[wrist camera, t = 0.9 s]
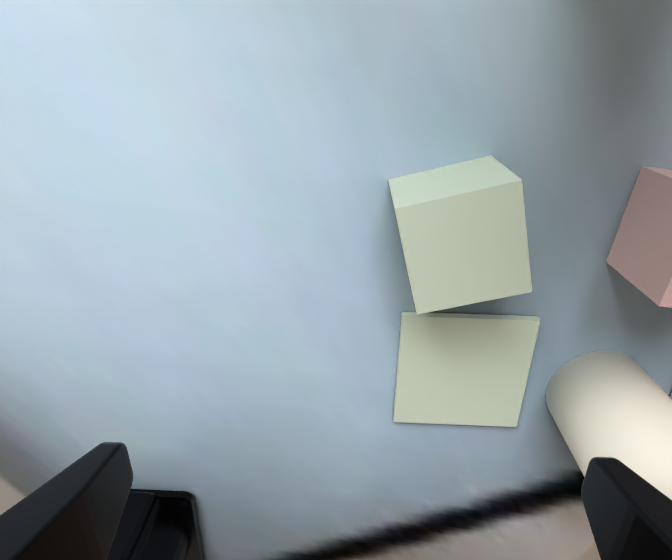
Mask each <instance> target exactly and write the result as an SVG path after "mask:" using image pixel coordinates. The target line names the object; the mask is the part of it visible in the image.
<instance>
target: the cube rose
mask: <svg viewBox="0 0 672 560" xmlns="http://www.w3.org/2000/svg"><path fill="white" fill-rule="evenodd" d="M606 262H607V263H608V264H609V265H610V266H612V267H613V268H614V269H615V270H616V271H618V272H619V273H620V274H621V275H622V276H623V277H625V278H626V279H627V280H628V281H629V282H631V283H632V284H633V285H634V286H635V287H636V288H638V289H639V290H640V291H641V292H642V293H644V294H645V295H646V296H647V297H648V298H649V299H651V300H652V301H653V302H654V303H655V304H657V305H658V306H660V307H669V308H672V169H663V168H654V167H645V166H642V167H641V169H640V172H639V175H638V177H637V180H636V183H635V185H634V188H633V191H632V193H631V196H630V199H629V201H628V204H627V207H626V209H625V212H624V215H623V217H622V220H621V223H620V225H619V228H618V231H617V233H616V236H615V239H614V241H613V244H612V247H611V249H610V252H609V255H608V257H607V260H606Z"/></svg>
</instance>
